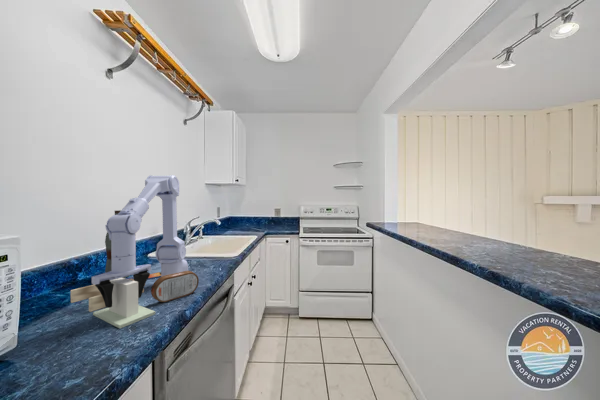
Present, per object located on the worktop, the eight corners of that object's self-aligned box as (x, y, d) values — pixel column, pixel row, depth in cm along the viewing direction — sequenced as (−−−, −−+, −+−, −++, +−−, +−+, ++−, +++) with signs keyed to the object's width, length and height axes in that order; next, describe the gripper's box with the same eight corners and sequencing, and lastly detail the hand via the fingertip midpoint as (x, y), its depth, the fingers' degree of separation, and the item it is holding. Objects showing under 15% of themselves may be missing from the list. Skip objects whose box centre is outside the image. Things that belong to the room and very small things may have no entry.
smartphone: (120, 281, 101) (120, 279, 101) (160, 274, 111) (160, 271, 111) (120, 286, 95) (120, 283, 95) (163, 277, 105) (163, 275, 105)
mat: (127, 303, 77) (127, 301, 77) (155, 314, 69) (155, 311, 69) (93, 315, 69) (93, 312, 69) (119, 328, 61) (119, 325, 61)
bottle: (104, 277, 106) (104, 210, 106) (129, 273, 112) (129, 210, 112) (105, 282, 99) (105, 211, 99) (132, 277, 105) (132, 210, 106)
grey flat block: (120, 306, 73) (120, 277, 73) (138, 313, 68) (138, 281, 68) (108, 310, 70) (108, 280, 70) (126, 317, 65) (126, 285, 66)
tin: (195, 290, 88) (195, 267, 88) (200, 292, 86) (199, 269, 86) (150, 304, 76) (150, 278, 76) (154, 306, 74) (154, 280, 74)
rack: (100, 294, 86) (100, 283, 86) (120, 302, 78) (120, 290, 78) (70, 302, 79) (70, 290, 79) (90, 312, 71) (90, 298, 71)
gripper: (142, 249, 78) (142, 291, 77) (86, 259, 65) (86, 308, 65) (154, 251, 74) (155, 294, 74) (98, 261, 61) (98, 314, 61)
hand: (124, 301), depth 69 cm, fingers open, 7 cm apart
